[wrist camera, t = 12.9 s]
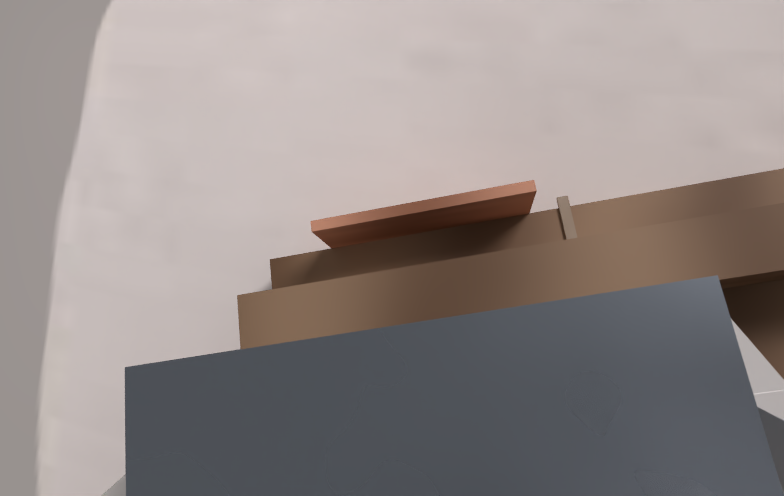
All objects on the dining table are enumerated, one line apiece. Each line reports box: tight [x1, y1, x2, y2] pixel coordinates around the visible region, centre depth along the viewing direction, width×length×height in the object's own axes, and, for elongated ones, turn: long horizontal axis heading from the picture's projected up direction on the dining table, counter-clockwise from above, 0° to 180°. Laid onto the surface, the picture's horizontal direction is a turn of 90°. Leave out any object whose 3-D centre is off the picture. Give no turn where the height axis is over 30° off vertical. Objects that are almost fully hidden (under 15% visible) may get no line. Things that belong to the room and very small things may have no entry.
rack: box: [237, 169, 784, 379], centre depth 13 cm, size 26×10×4 cm, turn 98°
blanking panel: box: [125, 275, 784, 496], centre depth 9 cm, size 6×2×9 cm, turn 98°
